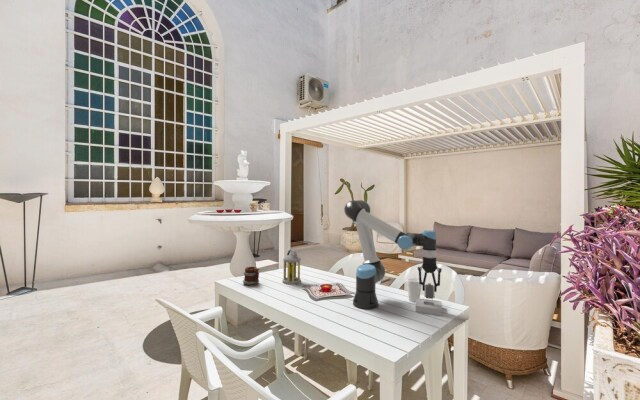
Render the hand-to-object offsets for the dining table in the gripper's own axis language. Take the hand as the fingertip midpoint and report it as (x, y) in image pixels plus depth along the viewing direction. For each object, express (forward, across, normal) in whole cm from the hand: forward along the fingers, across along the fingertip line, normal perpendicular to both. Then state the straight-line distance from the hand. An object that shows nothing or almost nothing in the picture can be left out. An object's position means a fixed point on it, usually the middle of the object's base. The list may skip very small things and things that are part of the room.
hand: (429, 296), depth 177 cm
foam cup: (+8, -10, +13) cm, 18 cm away
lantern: (+6, -100, +20) cm, 102 cm away
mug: (+6, -124, +3) cm, 124 cm away
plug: (0, 0, 0) cm, 1 cm away
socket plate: (+8, 0, 0) cm, 8 cm away
